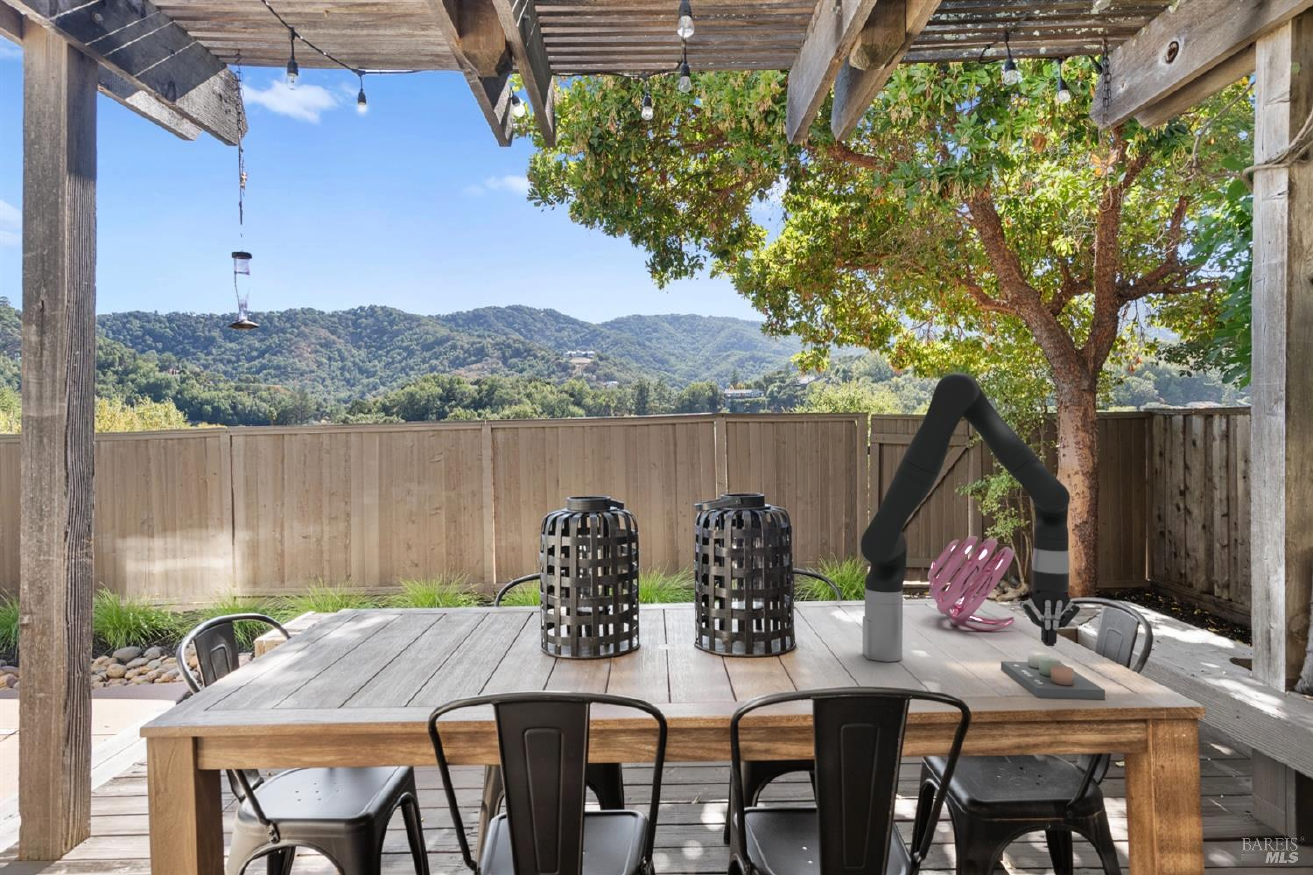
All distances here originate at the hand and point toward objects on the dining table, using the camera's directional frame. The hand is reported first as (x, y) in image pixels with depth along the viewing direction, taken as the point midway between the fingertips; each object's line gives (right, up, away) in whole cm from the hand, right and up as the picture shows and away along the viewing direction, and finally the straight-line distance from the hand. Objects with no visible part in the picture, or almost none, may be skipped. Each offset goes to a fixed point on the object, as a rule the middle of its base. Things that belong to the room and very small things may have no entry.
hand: (1048, 645), depth 171 cm
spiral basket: (+5, -9, +54) cm, 55 cm away
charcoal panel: (0, -9, 0) cm, 9 cm away
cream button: (0, -6, +6) cm, 9 cm away
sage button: (0, -6, 0) cm, 6 cm away
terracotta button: (0, -6, -6) cm, 9 cm away
